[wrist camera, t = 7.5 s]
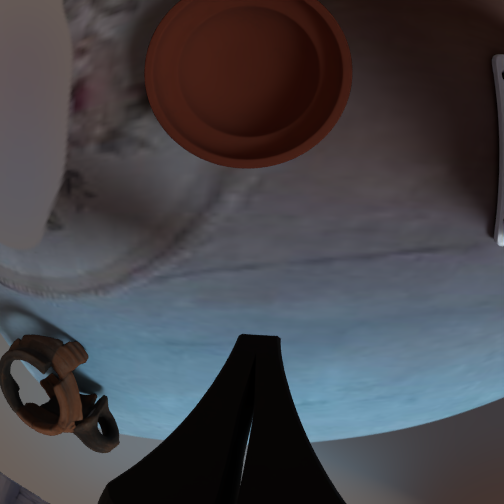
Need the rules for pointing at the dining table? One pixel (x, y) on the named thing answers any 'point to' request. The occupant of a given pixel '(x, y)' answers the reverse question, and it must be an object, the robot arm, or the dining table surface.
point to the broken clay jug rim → (59, 393)
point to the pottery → (248, 78)
